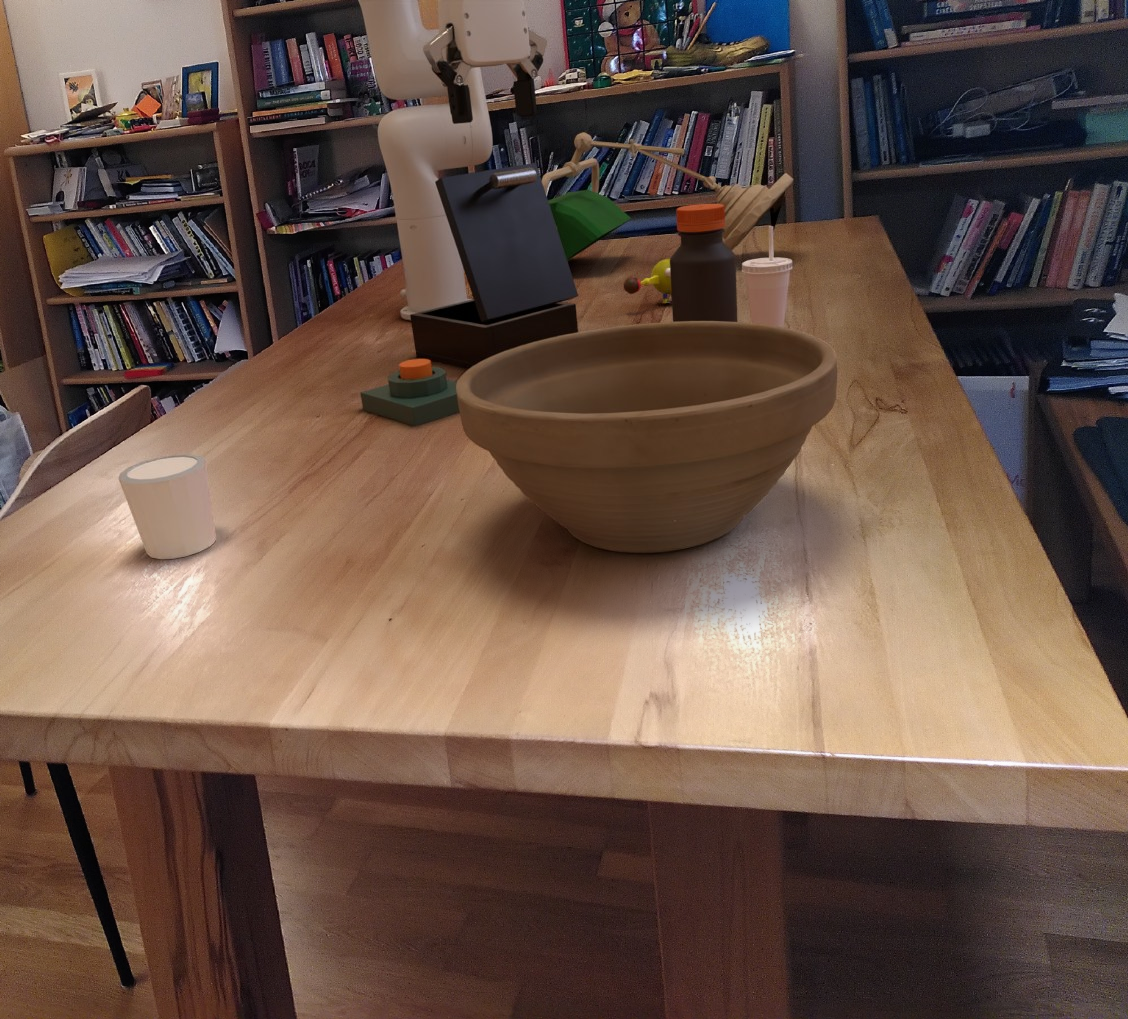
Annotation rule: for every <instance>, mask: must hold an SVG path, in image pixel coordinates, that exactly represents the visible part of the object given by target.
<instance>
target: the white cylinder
mask: <svg viewBox="0 0 1128 1019" xmlns="http://www.w3.org/2000/svg"><path fill="white" fill-rule="evenodd" d="M117 480H118V482H119V484H120V487H121V490H122V492H123V495H124V497H125V500H126V502H127V505H128V508H129V510H130V513H131V515H132V519H133V521H134V524H135V527H136V528H137V532H138V534H139V537H140V539H141V542H142V545H143V547H144V549H145V552H146V554H147V555H148V556H149V557H150V558H153V559H157V560H173V559H174V560H175V559H179V558H183V557H184V558H185V557H190V556H192V555H194V554H198V553H201V552H203V551H205V550H206V549H209V548H210V547H211V546H212V545H213V544H214V543H215V542H216V539H217V534H216V528H215V521H214V520H215V519H214V513H213V504H212V498H211V491H210V483H209V475H208V466H207V461H206V458H205V457H203V456H201V455H199V454H190V453H187V454H172V455H171V454H170V455H166V456H160V457H154V458H152V459H147V460H144V461H141V462H139V463H135V464H134V465H131V466H128V467H127V468H125V469H124V470H123V471H121V472H120V473H119V475H118V479H117Z"/></svg>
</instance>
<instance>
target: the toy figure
mask: <svg viewBox="0 0 1128 1019" xmlns="http://www.w3.org/2000/svg"><path fill="white" fill-rule="evenodd" d="M642 285H643V286H645V287H648V286H650V285H653V287H654V288H655V289H656V291H658V292H660V293H661V294H662V305H663V306H664V305H665V306H668V305H672V294H671V275H670V258H665V259H662V260H660V261H658V262H657V263H656V264H655V265H654V266H653V268H652V270H651V276H650V277H649V278H648V277H646V278H644V279H643V280H641V281H640V279H639V278H637V277H634V276H632V277H628V278H626V279H625V280H624V282H623V289H624V291H625V292H626V293H627V294H630V295H633V294H636V293H638V292H639V291H640V290H641V287H642ZM668 295H670V301H668Z"/></svg>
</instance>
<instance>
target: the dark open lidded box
mask: <svg viewBox="0 0 1128 1019" xmlns="http://www.w3.org/2000/svg"><path fill="white" fill-rule="evenodd" d="M471 299H472V300H468V301H464V302H460V303H455V304H451V305H447V306H443V307H439V308H435V309H431V310H427V311H423V312H418V313H414V314H410V318H411V320H410V324H411V331H412V336H413V344H414V350H415V357H416V359H428V360H430V361H431V362H434V363H439V364H442V365H447V366H452V367H455V368H456V367H457V368H461V369H465V370H468V369H470V368H471V367H473V366H474V365H476V364H478V363H479V362H481V361H483V360H485V359H487V358H489V357H492V356H494V355H496V354H499V353H501V352H504V351H507V350H510V349H513V348H516V347H519V346H522V345H526V344H529V343H532V342H536V341H540V340H544V339H548V338H553V337H557V336H562V335H567V334H572V333H578V332H579V326H578V325H579V324H578V315H577V304H576V303H573V302H566V301H562V302H559V303H555V304H551V305H547V306H543V307H540V308H536V309H532V310H528V311H524V312H520V313H517V314H513V315H509V316H505V317H501V318H497V319H494V320H490V321H486V322H481V319H480V316H479V313H478V310H477V307H476V304H475V301H474V298H471Z"/></svg>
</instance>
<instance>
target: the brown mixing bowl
mask: <svg viewBox="0 0 1128 1019" xmlns="http://www.w3.org/2000/svg"><path fill="white" fill-rule="evenodd" d="M456 382H457V384H456V391H457V401H458V406H459V411H460V412H459V416H460V420H461V426H462V430H463V432H464V434H465V436H466V437H467V438H468V439H469V440H470V442H472V443H473V444H475V445H476V446H478V447H479V448H481V449H483V450H485V451H487V452H489V453H490V455H491V457H492V459H494V460H495V462H496V464H497V466H498V467H499V468H500V469H501V470H502V472H503V473H504V475H505V476H506V477H507V479H509V480H510V481H511V482H512V483H513V484H514V485H515V486H516V487H517V488H518V489H519V490H520V492H521V493H523V495H524V496H525V497H527V498H528V499H529V500H530V501H531V502H532V503H533V504H534V505H536V506H537V508H539V509H540V510H541V511H542V512H544V513H545V514H546V515H547V516H548V517H550V518H551V519H552V520H554V521H555V522H556V523H558V524H559V525H560V526H562V527H563V528H565V529H566V530H567V531H568V533H570V535H572V536H573V537H574V538H575V539H577V540H578V541H580V542H581V543H584V544H585V545H588V546H591V547H593V548H597V549H601V550H606V551H611V552H618V553H627V554H628V553H629V554H653V553H666V552H673V551H678V550H684V549H689V548H694V547H697V546H700V545H703V544H707V543H711V542H712V541H714V540H717V539H720V538H721V537H723V536H725V535H726V534H728V533H730V532H731V531H733V530H734V529H735V528H736V527H737V526H739V524H740V523H741V522H742V521H743V519H744V517H745V516H746V515H747V514H748V513H749V512H751V510H752V509H753V508H754V507H755V506H757V505H758V504H759V503H760V502H761V501H762V499H763V498H764V497H765V496H767V494H769V492H770V491H771V490H772V488H774V486H775V485H776V484H777V483H778V482H779V480H780V479H781V478H782V477H783V475H785V473H786V471H787V469H788V468H789V467H791V464H792V463H793V462H794V460H795V459H796V458H797V457H798V455H799V454H800V453H801V450H802V447H803V446H804V445H805V443H806V441H807V437H808V435H809V434H810V433H811V431H812V429H813V426H815V425H817V424H819V422H821V421H822V420H824V418H826V417H827V416H828V414H829V413H830V412H831V411H832V409H833V408H834V406H835V402H836V399H837V385H838V384H837V383H838V355H837V352H836V350H835V349H834V348H833V346H832V345H830V344H829V343H828V342H827V341H825V340H824V339H821V338H819V337H818V336H815V335H812V334H810V333H807V332H804V331H801V330H797V329H792V328H788V327H785V326H784V327H779V326H774V325H767V324H757V323H752V322H742V321H738V322H724V321H683V322H673V321H660V322H648V323H647V322H646V323H636V324H627V325H618V326H609V327H603V328H597V329H590V330H589V329H588V330H583V331H578V333H572V334H567V335H562V336H557V337H553V338H548V339H544V340H540V341H536V342H532V343H529V344H526V345H522V346H519V347H516V348H513V349H510V350H507V351H504V352H501V353H499V354H496V355H494V356H492V357H489V358H487V359H485V360H483V361H481V362H479V363H478V364H476V365H474V366H473V367H471V368H470V369H466V371H465V372H464V373H463V374H462V375H461V376H460V377H459V378H458V380H457V381H456Z"/></svg>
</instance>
